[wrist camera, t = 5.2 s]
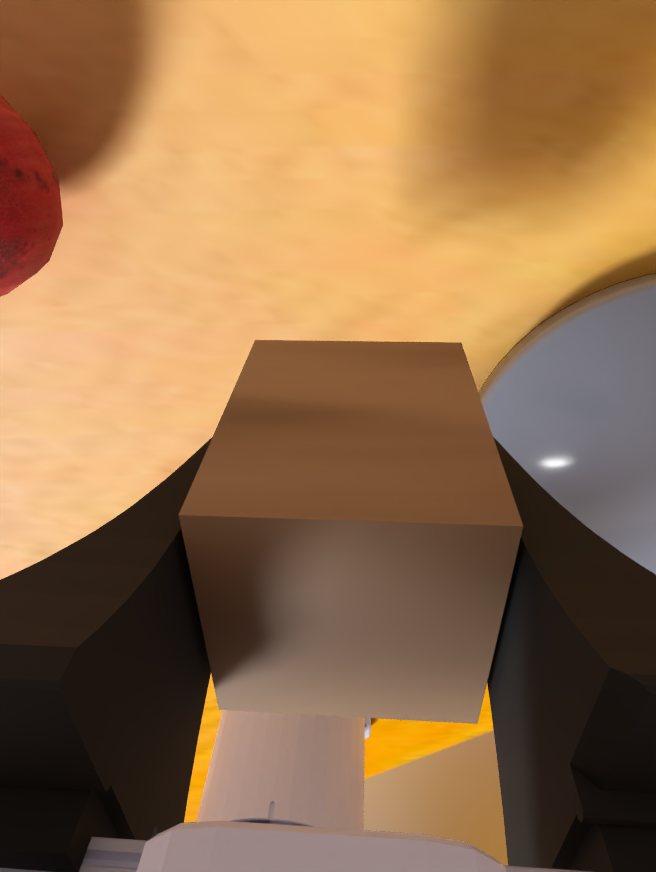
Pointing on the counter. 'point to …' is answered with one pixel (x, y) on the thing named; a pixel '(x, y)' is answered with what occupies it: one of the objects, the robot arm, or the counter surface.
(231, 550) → the walnut stool block
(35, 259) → the onion
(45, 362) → the counter surface
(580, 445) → the plate
